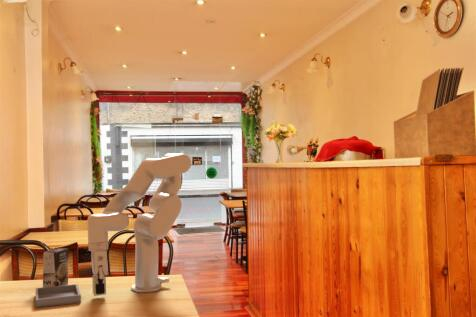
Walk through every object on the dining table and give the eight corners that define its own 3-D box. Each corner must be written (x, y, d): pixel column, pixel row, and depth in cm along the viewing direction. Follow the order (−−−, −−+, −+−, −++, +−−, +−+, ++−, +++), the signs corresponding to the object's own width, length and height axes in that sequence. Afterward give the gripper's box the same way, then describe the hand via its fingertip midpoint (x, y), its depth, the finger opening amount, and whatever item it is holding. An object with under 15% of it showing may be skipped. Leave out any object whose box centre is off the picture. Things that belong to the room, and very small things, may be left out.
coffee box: (56, 291, 183) (56, 252, 183) (42, 290, 184) (42, 251, 184) (68, 285, 192) (69, 248, 192) (55, 284, 193) (55, 247, 193)
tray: (77, 291, 184) (77, 284, 184) (80, 302, 170) (80, 294, 170) (35, 295, 177) (35, 288, 177) (35, 308, 163) (35, 299, 163)
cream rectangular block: (104, 291, 178) (104, 273, 178) (106, 294, 174) (105, 276, 174) (92, 292, 177) (92, 275, 176) (94, 296, 172) (93, 278, 172)
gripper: (111, 248, 169) (112, 296, 169) (104, 240, 184) (106, 284, 185) (90, 251, 166) (92, 299, 166) (85, 242, 181) (87, 287, 182)
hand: (99, 291), depth 175 cm, fingers closed on cream rectangular block, 4 cm apart
